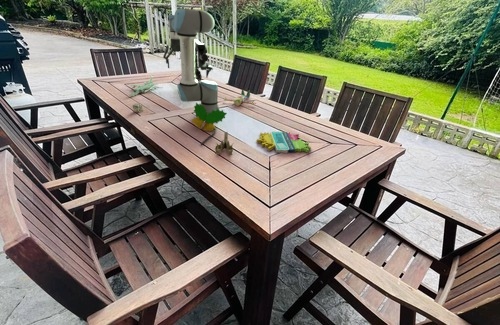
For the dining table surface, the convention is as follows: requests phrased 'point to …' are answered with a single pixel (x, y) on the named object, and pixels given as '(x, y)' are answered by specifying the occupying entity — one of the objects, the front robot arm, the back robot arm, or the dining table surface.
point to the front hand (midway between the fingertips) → (177, 68)
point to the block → (137, 108)
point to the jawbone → (224, 145)
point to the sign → (283, 142)
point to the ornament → (207, 117)
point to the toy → (241, 99)
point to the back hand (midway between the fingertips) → (201, 78)
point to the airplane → (143, 87)
